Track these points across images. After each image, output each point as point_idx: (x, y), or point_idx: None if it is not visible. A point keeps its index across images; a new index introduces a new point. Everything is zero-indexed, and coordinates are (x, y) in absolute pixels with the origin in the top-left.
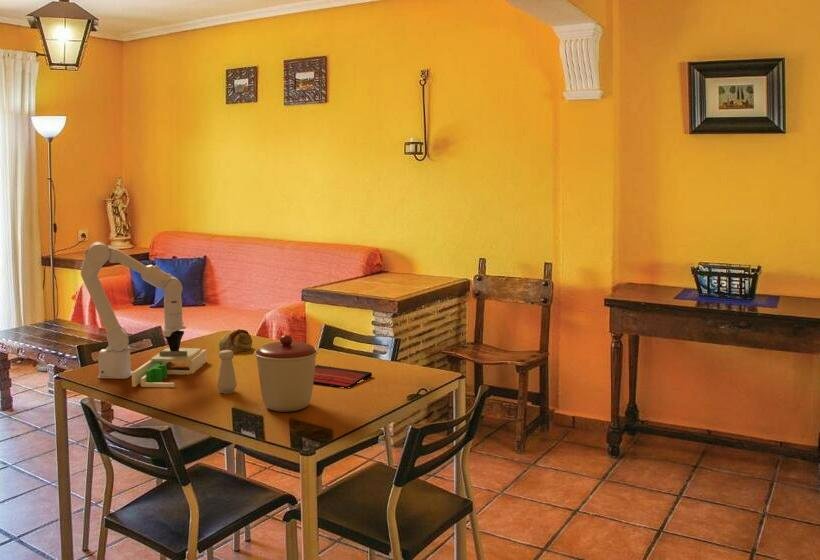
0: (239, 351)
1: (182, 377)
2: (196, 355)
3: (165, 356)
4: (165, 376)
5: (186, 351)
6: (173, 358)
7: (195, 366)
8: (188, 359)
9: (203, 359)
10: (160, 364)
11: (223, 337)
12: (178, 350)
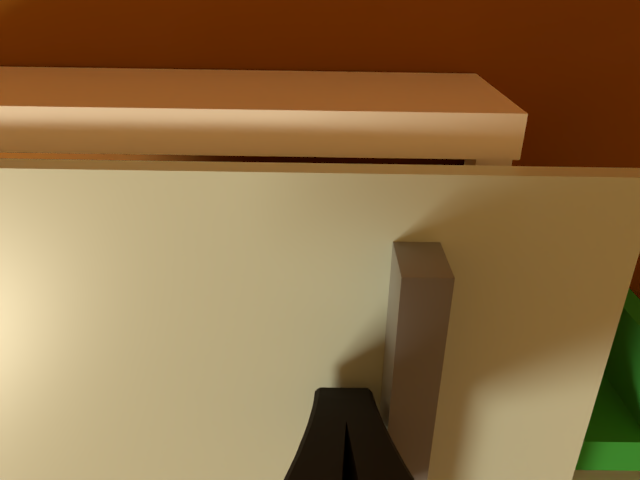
0: None
1: (618, 143)
2: (196, 143)
3: (445, 470)
4: (635, 302)
5: (431, 279)
6: (563, 365)
7: (365, 83)
8: (561, 168)
9: (7, 78)
10: (589, 432)
11: None
12: (337, 406)
